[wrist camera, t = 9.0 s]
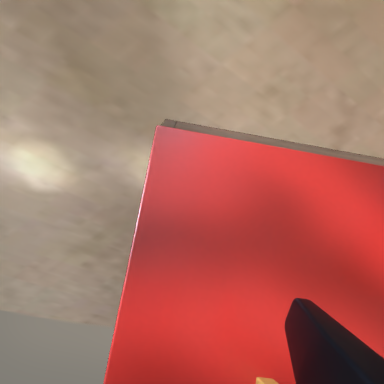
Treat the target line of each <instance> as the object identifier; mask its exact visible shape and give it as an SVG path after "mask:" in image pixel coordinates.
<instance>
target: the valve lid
mask: <svg viewBox="0 0 384 384" xmlns="http://www.w3.org/2000/svg"><path fill="white" fill-rule="evenodd" d="M295 298H302V299H309V300H311V301H312V302H314V303H315V304H316V305H317V306H319V307H320V308H321V309H322V310H324V311H325V312H326V313H327V314H329V315H330V316H331V317H332V318H334V319H335V320H336V321H337V322H339V323H340V324H341V325H342V326H344V327H345V328H346V329H348V330H349V331H350V332H351V333H353V334H354V335H355V336H356V337H358V338H359V339H360V340H361V341H363V342H364V343H365V344H366V345H368V346H369V347H370V348H371V349H373V350H374V351H375V352H376V353H378V354H379V355H380V356H381V357H383V358H384V166H381V165H376V164H370V163H365V162H359V161H354V160H348V159H343V158H337V157H332V156H326V155H320V154H315V153H309V152H304V151H298V150H293V149H287V148H282V147H276V146H271V145H265V144H260V143H254V142H249V141H243V140H237V139H232V138H226V137H221V136H215V135H210V134H204V133H199V132H193V131H188V130H182V129H177V128H171V127H166V126H160V125H157V126H156V129H155V134H154V139H153V144H152V149H151V154H150V159H149V163H148V168H147V173H146V178H145V183H144V188H143V193H142V198H141V202H140V207H139V212H138V217H137V222H136V227H135V232H134V236H133V241H132V246H131V251H130V256H129V261H128V266H127V271H126V275H125V280H124V285H123V290H122V295H121V300H120V305H119V310H118V314H117V319H116V324H115V329H114V334H113V339H112V344H111V349H110V353H109V358H108V363H107V369H106V373H105V378H104V383H103V384H296V382H295V378H294V373H293V368H292V363H291V358H290V353H289V348H288V343H287V338H286V333H285V320H286V317H287V314H288V312H289V309H290V306H291V304H292V301H293V300H294V299H295Z"/></svg>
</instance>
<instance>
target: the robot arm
mask: <svg viewBox="0 0 384 384" xmlns="http://www.w3.org/2000/svg"><path fill="white" fill-rule="evenodd" d="M285 333H286V338H287V343H288V348H289V353H290V358H291V363H292V368H293V373H294V378H295V382H296V384H384V358H383V357H381V356H380V355H379V354H378V353H376V352H375V351H374V350H373V349H371V348H370V347H369V346H368V345H366V344H365V343H364V342H363V341H361V340H360V339H359V338H358V337H356V336H355V335H354V334H353V333H351V332H350V331H349V330H348V329H346V328H345V327H344V326H342V325H341V324H340V323H339V322H337V321H336V320H335V319H334V318H332V317H331V316H330V315H329V314H327V313H326V312H325V311H324V310H322V309H321V308H320V307H319V306H317V305H316V304H315V303H314V302H312V301H311V300H309V299H302V298H295V299H294V300H293V301H292V304H291V306H290V309H289V312H288V314H287V317H286V320H285Z"/></svg>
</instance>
